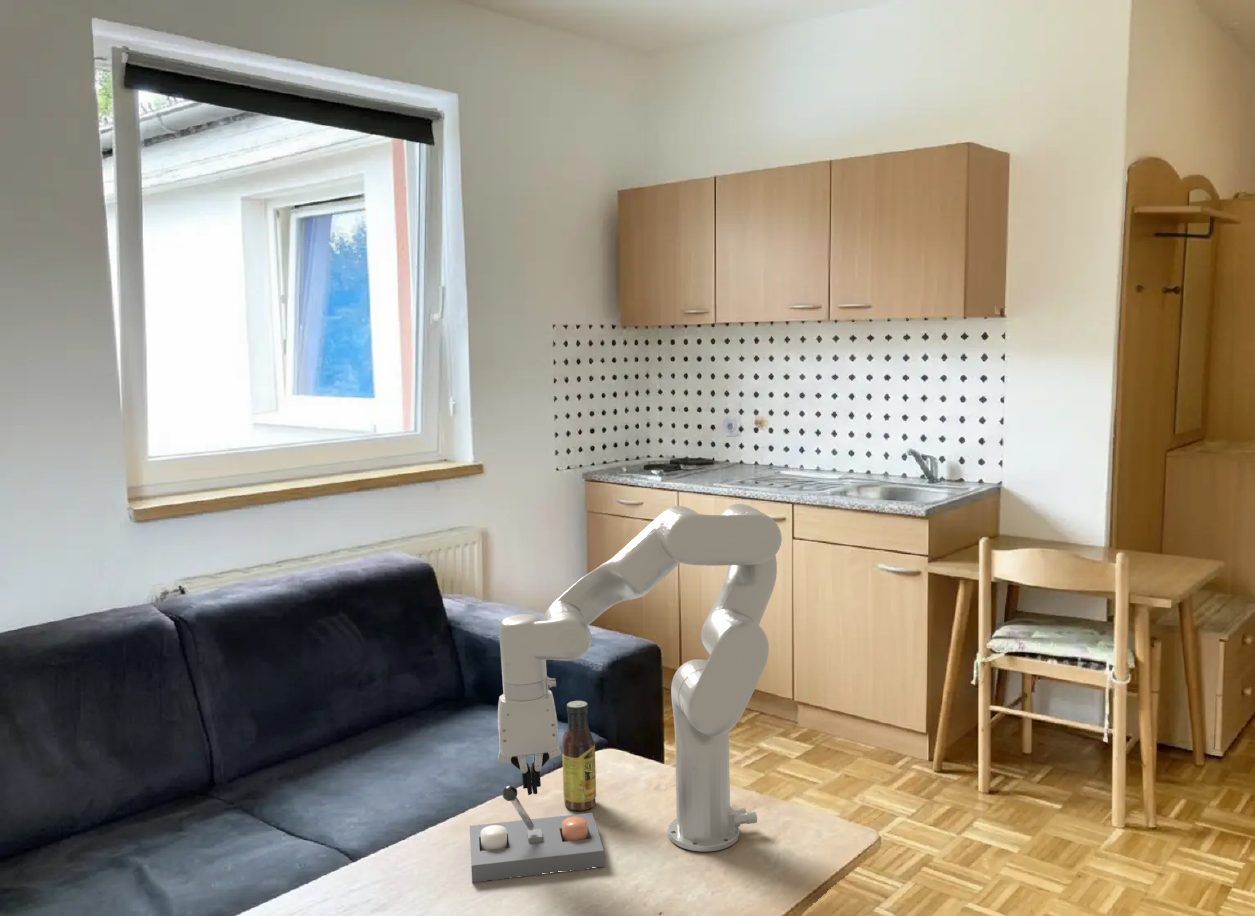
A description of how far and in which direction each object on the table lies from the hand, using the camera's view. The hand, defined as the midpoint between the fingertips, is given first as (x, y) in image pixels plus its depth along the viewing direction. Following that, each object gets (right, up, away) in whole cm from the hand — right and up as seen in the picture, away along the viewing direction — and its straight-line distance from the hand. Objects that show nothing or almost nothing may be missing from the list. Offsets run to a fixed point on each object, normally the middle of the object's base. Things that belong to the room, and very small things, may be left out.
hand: (532, 791), depth 172 cm
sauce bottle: (+7, -9, +20) cm, 23 cm away
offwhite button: (-6, -10, 0) cm, 12 cm away
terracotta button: (+7, -10, +2) cm, 12 cm away
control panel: (0, -11, +1) cm, 12 cm away
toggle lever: (0, -7, +1) cm, 8 cm away
